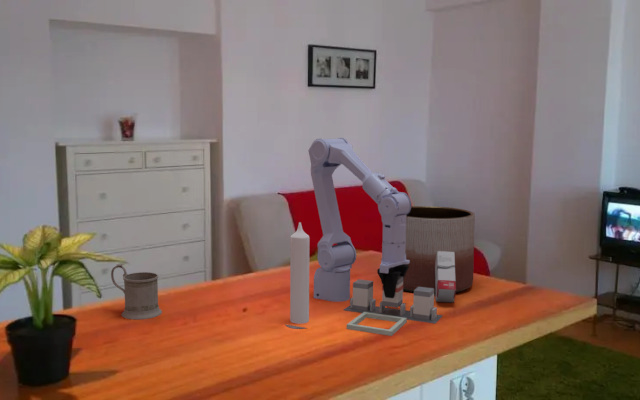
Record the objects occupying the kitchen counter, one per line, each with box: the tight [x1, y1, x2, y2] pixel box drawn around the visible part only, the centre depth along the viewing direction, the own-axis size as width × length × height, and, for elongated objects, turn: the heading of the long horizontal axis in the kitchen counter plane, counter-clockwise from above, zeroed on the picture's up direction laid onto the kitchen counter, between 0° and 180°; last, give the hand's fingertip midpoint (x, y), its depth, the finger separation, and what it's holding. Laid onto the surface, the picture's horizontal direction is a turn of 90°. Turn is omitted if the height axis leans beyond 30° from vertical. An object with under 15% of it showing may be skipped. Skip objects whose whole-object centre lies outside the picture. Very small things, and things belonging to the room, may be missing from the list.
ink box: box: [435, 251, 456, 303], centre depth 176 cm, size 9×5×12 cm
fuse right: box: [412, 287, 435, 321], centre depth 162 cm, size 4×4×7 cm
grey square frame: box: [346, 312, 408, 337], centre depth 156 cm, size 11×11×2 cm
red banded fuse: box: [381, 276, 404, 309], centre depth 165 cm, size 4×4×7 cm
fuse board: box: [343, 296, 444, 324], centre depth 165 cm, size 24×7×4 cm, turn 65°
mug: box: [110, 263, 163, 320], centre depth 167 cm, size 14×10×12 cm
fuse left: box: [352, 278, 374, 312], centre depth 168 cm, size 4×4×7 cm
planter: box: [403, 205, 476, 295], centre depth 195 cm, size 25×25×22 cm
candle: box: [284, 221, 310, 330], centre depth 157 cm, size 7×7×25 cm
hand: (392, 295), depth 165 cm, fingers closed on red banded fuse, 4 cm apart
